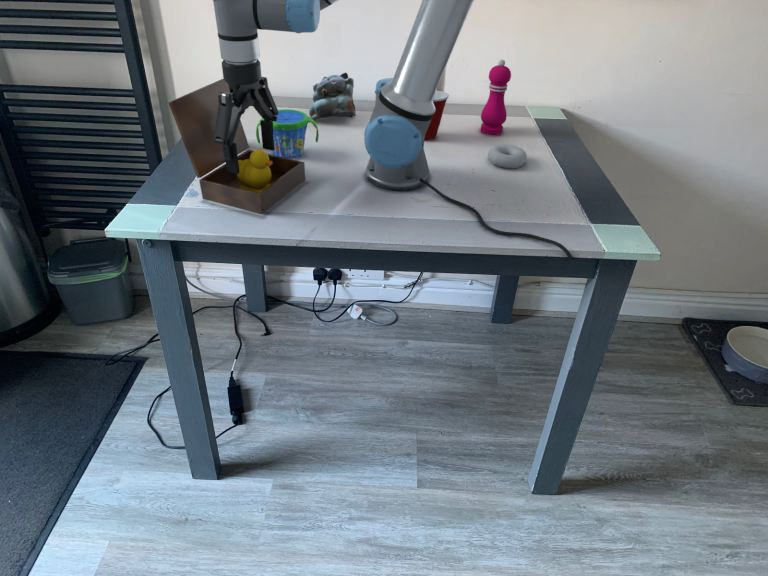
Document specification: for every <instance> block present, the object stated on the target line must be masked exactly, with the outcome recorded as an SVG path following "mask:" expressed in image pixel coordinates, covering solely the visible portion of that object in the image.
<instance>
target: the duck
mask: <svg viewBox="0 0 768 576" xmlns="http://www.w3.org/2000/svg"><path fill="white" fill-rule="evenodd" d="M268 154H269V153H268V152H266V151H265V150H264V149H255V150H253V152H252V153H251V155H250V159H246V160H243V161H242V160H238V163H239V171H240V173H238V174H237V177H238V179H239V181H240V182H241V183H243V185H242V186H240V189H244V190H248V191H251V192H255V193H260V192H261V191H263V190H264V189H265V188H267V187H268V186H269V185H271V184H268V183H269V182H270V180H271V170H270V168H269V166H270V165H272V164H273V161H270V160H269V156H268Z"/></svg>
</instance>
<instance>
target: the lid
mask: <svg viewBox="0 0 768 576" xmlns="http://www.w3.org/2000/svg"><path fill="white" fill-rule="evenodd" d="M228 90H229V85H228V83H227V82H226V81H225V80H224V78H223V77H222V78H221V79H219V80H216V81H214V82H212V83H210V84H207V85H205V86H203V87H200V88H198V89H195V90H193V91H191V92H189V93H186V94H184V95H182V96H179V97H177V98H174V99H172V100H170V101H168V102H167V104H168V105H169V108H170V111H171V114H172V116H173V118H174V121H175V123H176V127H177V129H178V132H179V134H180V137H181V139H182V142H183V145H184V147H185V150H186V152H187V154H188V157H189V160H190V162H191V165H192V168H193V170H194V173H195V176H196V178H197V179H202V178H203V177H205V176H207V175H208V174H210V173H211V172H213V171H215V170H216V169H218V168H219V167H221V166H223V165H224V164H226V161H225V158H224V155H223V148H222V145H221V144H217V143H214V133H215V127H216V120H217V113H218V106H219V100H218V94H219V92H222V93H227V92H228ZM234 107H236V106H235V105H234ZM236 108H237V107H236ZM228 138H229V137H228ZM233 143H236V147H237V155H238V156H239V155H240V154H242V153H244V152H245V151H247V150H249V148H250V144H249V142H248V138H247V135H246V131H245V129H244V126H243V124H242V121H241V119H240V121H239V125H238V128H237V131H236V134H235V138H234V141H233Z"/></svg>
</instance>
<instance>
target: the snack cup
mask: <svg viewBox="0 0 768 576" xmlns="http://www.w3.org/2000/svg"><path fill="white" fill-rule="evenodd" d="M275 116H276V115H275ZM261 120H264V119H263V118H262V117H261V119H259V120H258V122H257V124H256V128H255V137H256V141H257V143H258V144H261V138H260V132H259V127H261V124H260V121H261ZM308 123H311V124H312V125H313V127H314V128H315V131H316V132H315V143H318V142H319V136H320V135H319V128H318V125H317V123H316V121H315V120H313V119H312V118H311V116H308V115H307V114H306V113H305V112H303V111H301V110H296V109H288V108H287V109H286V108H285V109H283V108H282V109H278V115H277V121H276V122H275V121H273V130H274V132H273V135H274V147H275V150H274V151H273V155H275V156H280V157H284V158H288V159H295V158H298V157H301V156H303V154H304V152H305V142H306V141H305V140H306V132H307V129H308Z"/></svg>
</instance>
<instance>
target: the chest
mask: <svg viewBox="0 0 768 576" xmlns="http://www.w3.org/2000/svg"><path fill="white" fill-rule="evenodd" d="M253 151H254V150H253V149H246V150H245V151H243V152H241V153H240V154H238V160H242V161H243V160H246V159H250V155H251V153H252V152H253ZM267 154H268V156H269V160H270V161H273V164H272V165H270V166H269V168H270V170H271V180H270V182H269V183H268V184H271V185H269V186H268V187H267V188H265V189H264V190H263V191H261V192H260V193H255V192H251V191H248V190H244V189H240V186H242V185H243V183H241V182H240V181H239V179H238V177H237V174H235V173H231V172H227V168H226V163H223V164H222V165H220V166H219V167H217V168H215V169H214V170H212V171H211V172H209V173H207V174H206V175H204V176H202V177H201V178H199V186H200V191H201V197H202V199H203V200H206V201H210V202H213V203H216V204H220V205H224V206H229V207H232V208H236V209H240V210H242V211H247V212H251V213H255V214H259V215H264V214H265V213H266V212H267V211H268V210H269V209H271V208H272V207H273V206H275V205H276V204H277V203H278V202H280V201H281V200H283V199H284V198H285V197H287V195H288V194H290V193H291V192H292V191H294V190H296V188H298V187H299V186H300V185H301V184H303V182H305V181H306V166H305V161H301V160H296V159H294V158H284V157H280V156H276V155H275V154H270V153H267Z"/></svg>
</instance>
